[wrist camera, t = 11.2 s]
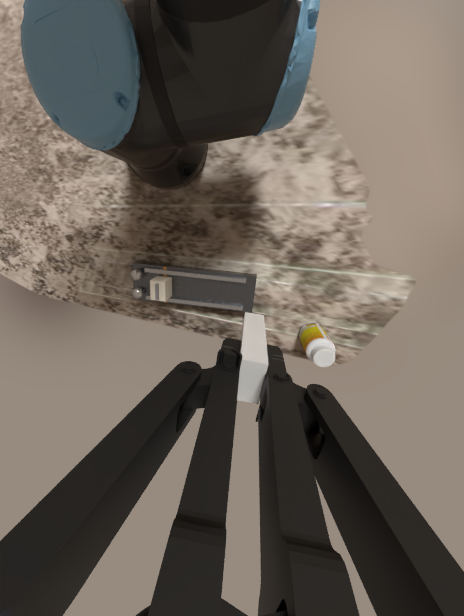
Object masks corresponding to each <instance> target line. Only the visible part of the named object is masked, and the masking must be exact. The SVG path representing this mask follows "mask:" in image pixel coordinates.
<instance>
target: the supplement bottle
mask: <svg viewBox="0 0 464 616" xmlns="http://www.w3.org/2000/svg"><path fill="white" fill-rule="evenodd" d="M299 337H300V340H301V343H302V345H303V348H304V350H305V353H306V355H307V357H308V359H309V360H311V361H312V362H314V363H315V364H316V365H317V366H319V367H327V366H330V365H331V364H333V362H334V361H335V346H334V344H333V342H332V341H331V339H330V338H329V336H328V335H327V333H326V332H325V330H324V329H323V327H322V326H321V325H319V324H317V323H308V324H306V325H304V326H303V327H302V328H301V330H300V332H299Z"/></svg>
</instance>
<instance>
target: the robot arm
mask: <svg viewBox="0 0 464 616" xmlns="http://www.w3.org/2000/svg"><path fill="white" fill-rule="evenodd" d="M319 6H320V0H25V2H24V6H23V8H24V18H23V21H22V24H21V47H22V54H23V60H24V64H25V68H26V72H27V75H28V78H29V81H30V83H31V86H32V88H33V90H34V93H35V95H36V97H37V98H38V100H39V102H40V104H41V105H42V107H43V108H44V110H45V111H46V113H47V114H48V115H49V117H50V118H51V119H52V120H53V121H54V122H55V123H56V124H57V125H58V126H59V127H60V128H61V129H62V130H64V131H65V132H66V133H68V134H69V135H71V136H72V137H74V138H76V139H77V140H79V141H80V142H81V143H82V144H84V145H85V146H87V147H89V148H92V149H96V150H99V151H102V152H104V153H106V154H108V155H111V156H113V157H115V158H117V159H120V160H122V161H124V162H126V163H128V165H129V166H130V168H131V169H132V170H133V171H134V173H135V174H136V175H137V176H138V177H140V178H141V179H142V180H143V181H145V182H147V183H148V184H150V185H152V186H155V187H158V188H161V189H168V190H172V189H178V188H181V187H184V186H186V185H187V184H189V183H190V182H192V181H193V180H194V179H195V178H196V176H197V175H198V174H199V172H200V171H201V169H202V167H203V165H204V162H205V159H206V155H207V149H208V143H213V142H218V141H224V140H229V139H234V138H240V137H245V136H251V135H252V136H259V135H261V134H262V133H264V132H268V131H272V130H276V129H280V128H283V127H284V126H285V125H287V124H288V123H289V122H290V121H291V120H292V119H293V118H294V116H295V115H296V113H297V111H298V109H299V107H300V105H301V102H302V99H303V96H304V93H305V90H306V86H307V82H308V78H309V74H310V69H311V64H312V59H313V54H314V48H315V42H316V29H315V25H316V22H317V17H318V13H319ZM259 399H260V407H259V410H258V414H257V418H256V422H257V421H258V424H259V425H258V427H259V482H260V483H259V487H260V543H261V589H260V597H259V608H258V616H359V613H358V609H357V605H356V601H355V597H354V594H353V590H352V586H351V582H350V578H349V575H348V572H347V569H346V566H345V563H344V561H343V559H342V557H341V555H340V554H339V553H337V552H336V551H335V550H334V549H333V548H332V546H331V543H330V539H329V535H328V531H327V527H326V522H325V518H324V514H323V509H322V505H321V501H320V497H319V493H318V488H317V484H316V480H317V482H318V484H319V486H320V489H321V491H322V493H323V495H324V498H325V500H326V502H327V504H328V507H329V509H330V511H331V513H332V516H333V518H334V520H335V522H336V525H337V527H338V529H339V531H340V534H341V536H342V538H343V540H344V543H345V545H346V547H347V549H348V552H349V554H350V556H351V558H352V560H353V563H354V565H355V567H356V569H357V572H358V574H359V576H360V579H361V581H362V583H363V585H364V588H365V590H366V592H367V594H368V596H369V599H370V601H371V603H372V605H373V607H374V610H375V612H376V614H377V616H464V572H463V570H462V569H461V568H460V566H459V565H458V563H457V562H456V561H455V559H454V558H453V557H452V555H451V554H450V553H449V552H448V550H447V549H446V547H445V546H444V545H443V543H442V542H441V540H440V539H439V538H438V536H437V535H436V534H435V532H434V531H433V530H432V528H431V527H430V526H429V525H428V523H427V522H426V520H425V519H424V518H423V516H422V515H421V513H420V512H419V511H418V509H417V508H416V507H415V505H414V504H413V503H412V501H411V500H410V499H409V497H408V496H407V495H406V493H405V492H404V490H403V489H402V488H401V486H400V485H399V484H398V482H397V481H396V480H395V478H394V477H393V476H392V474H391V473H390V472H389V470H388V469H387V467H386V466H385V465H384V464H383V462H382V461H381V459H380V458H379V457H378V455H377V454H376V453H375V451H374V450H373V449H372V447H371V446H370V445H369V443H368V442H367V440H366V439H365V438H364V436H363V435H362V434H361V432H360V431H359V430H358V428H357V427H356V426H355V424H354V423H353V422H352V420H351V419H350V418H349V416H348V415H347V414H346V412H345V411H344V410H343V408H342V407H341V405H340V404H339V403H338V401H337V400H336V399H335V397H334V396H333V395H332V393H331V392H330V391H329V390H328V389H326V388H325V387H323V386H321V385H317V384H310V385H308V386H307V389H306V388H303V387H301V386H299V385H296V384H295V383H293V381H292V378H291V376H290V375H289V374H288V373H287V372H286V368H285V363H284V359H283V354H282V351H281V350H280V348H279V347H277V346H272V345H267V344H266V333H265V323H264V315H259V314H253V313H248V312H245V315H244V320H243V326H242V331H241V336H240V340H236V339H231V338H226V339H225V340H224V341H223V344H222V347H221V349H220V350H219V352H218V355H217V362H216V365H215V366H214V367H212V368H208V369H201V366H200V365H199V364H197V363H195V362H191V361H185V362H182V363H180V364H178V365H177V366H176V367H175V368H174V369H173V370H172V371H171V372H170V373H169V374H168V375H167V376H166V377H165V378H164V379H163V380H162V381H161V382H160V383H159V384H158V385H157V386H156V387H155V388H154V389H153V390H152V391H151V392H150V393H149V394H148V395H147V396H146V397H145V398H144V399H143V400H142V401H141V402H140V403H139V404H138V405H137V406H136V407H135V408H134V409H133V410H132V411H131V412H130V413H129V414H128V415H127V416H126V417H125V418H124V419H123V420H122V421H121V422H120V423H119V424H118V425H117V426H116V427H115V428H114V429H113V430H112V431H111V432H110V433H109V434H108V435H107V436H106V437H105V438H104V439H103V440H102V441H101V442H100V443H99V444H98V445H97V446H96V447H95V448H94V449H93V450H92V451H91V452H90V453H89V454H87V455H86V456H85V458H83V459H82V460H81V461H80V462H79V464H77V465H76V466H75V468H73V469H72V470H71V471H70V472H69V473H68V474H67V475H66V477H65V478H63V480H61V481H60V482H59V483H58V484H57V485H56V486H55V487H54V488H53V489H52V490H51V491H50V493H48V494H47V495H46V496H45V497H44V498H43V499H42V500H41V501H40V502H39V503H38V504H37V505H36V506H35V507H34V508H33V509H32V510H31V511H30V512H29V513H28V514H27V515H26V516H25V517H24V518H23V519H22V520H21V521H20V522H19V523H18V524H17V525H16V526H15V527H14V528H13V529H12V530H11V531H10V532H9V533H8V534H7V535H6V536H5V537H4V538H3V539H2V540H1V541H0V616H63V614H64V613H65V611H66V609H67V608H68V607H69V606H70V604H71V603H72V601H73V600H74V598H75V597H76V595H77V594H78V592H79V591H80V589H81V588H82V586H83V585H84V583H85V582H86V580H87V579H88V577H89V575H90V574H91V572H92V571H93V569H94V568H95V566H96V565H97V563H98V561H99V560H100V558H101V557H102V555H103V554H104V552H105V551H106V549H107V547H108V546H109V545H110V543H111V541H112V540H113V538H114V536H115V535H116V534H117V532H118V531H119V529H120V527H121V526H122V524H123V523H124V521H125V520H126V518H127V517H128V515H129V514H130V512H131V511H132V509H133V508H134V506H135V504H136V503H137V501H138V500H139V498H140V497H141V495H142V493H143V492H144V490H145V489H146V487H147V486H148V484H149V483H150V481H151V480H152V478H153V477H154V475H155V474H156V472H157V470H158V469H159V467H160V466H161V464H162V463H163V461H164V460H165V458H166V457H167V455H168V453H169V452H170V450H171V449H172V447H173V446H174V444H175V443H176V441H177V440H178V438H179V436H180V435H181V433H182V431H183V430H184V429H185V427H186V426H187V424H188V423H189V421H190V419H191V418H192V416H193V415H194V413H195V411H196V409H197V408H205V409H204V413H203V417H202V421H201V424H200V428H199V432H198V436H197V440H196V443H195V447H194V451H193V455H192V459H191V463H190V466H189V470H188V474H187V478H186V482H185V485H184V489H183V493H182V497H181V501H180V505H179V508H178V512H177V515H176V518H175V519H174V522H173V525H172V528H171V531H170V535H169V539H168V543H167V546H166V550H165V553H164V557H163V561H162V565H161V569H160V572H159V576H158V580H157V584H156V587H155V591H154V595H153V598H152V602H151V605H150V606H148V607H147V608H145V609H144V610H142V611H141V612H140V613H139V614H137V615H136V616H247V615H246V614H244V613H243V612H241V611H240V610H238V609H237V608H235V607H234V606H232V605H231V604H229V603H228V602H226V601H225V600H223V599H222V598H221V593H222V581H223V570H224V558H225V546H226V525H225V524H226V513H227V502H228V491H229V479H230V469H231V459H232V448H233V437H234V426H235V415H236V405H237V400H240V401H246V402H251V403H256V404H258V403H259ZM315 477H316V480H315Z"/></svg>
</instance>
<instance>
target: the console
mask: <svg viewBox="0 0 464 616" xmlns="http://www.w3.org/2000/svg"><path fill="white" fill-rule="evenodd" d="M132 269H133V271H131V273H130V276H131V278H132V279H133V282H134V290H133V291H132V296H133V297H134V298H135V299H138V300H147V301H155V302H164V303H172V304H181V305H189V306H198V307H206V308H215V309H223V310H232V311H240V312H249V313H252V307H253V300H254V292H255V285H256V277H257V275H256V274H249V273H239V272H230V271H221V270H212V269H202V268H193V267H184V266H175V265H165V264H156V263H147V262H138V261H136V262H133V263H132ZM157 276H166V277H172V296H171V297H170V298H169V299H168V300H167V301H166V302H165V301H156V300H151V295H150V280H151V279H153V278H155V277H157Z"/></svg>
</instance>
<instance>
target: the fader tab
mask: <svg viewBox="0 0 464 616" xmlns="http://www.w3.org/2000/svg"><path fill="white" fill-rule="evenodd" d="M150 295H151V300H156V301H165V302H166V301H167V300H168V299H169V298H170V297H171V296H172V277H166V276H157V277H155V278H153V279H151V280H150Z"/></svg>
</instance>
